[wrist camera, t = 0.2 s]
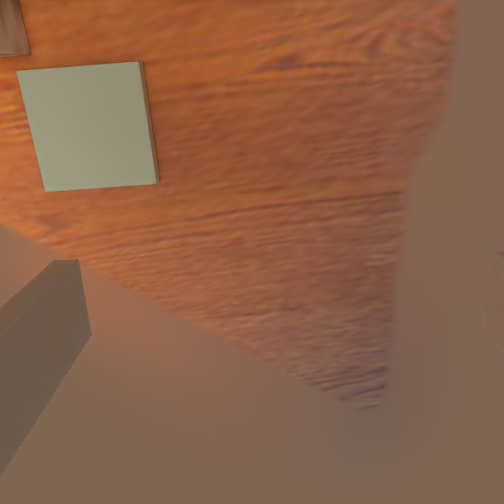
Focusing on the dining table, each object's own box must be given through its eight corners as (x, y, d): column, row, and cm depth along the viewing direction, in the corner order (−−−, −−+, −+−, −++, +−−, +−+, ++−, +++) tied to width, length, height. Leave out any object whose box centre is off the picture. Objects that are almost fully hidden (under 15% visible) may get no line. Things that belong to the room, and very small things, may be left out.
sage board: (25, 71, 37) (16, 70, 36) (142, 62, 37) (138, 61, 36) (52, 188, 41) (45, 191, 40) (159, 180, 41) (156, 183, 39)
